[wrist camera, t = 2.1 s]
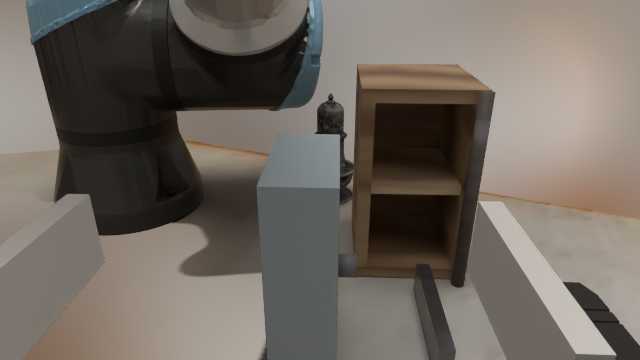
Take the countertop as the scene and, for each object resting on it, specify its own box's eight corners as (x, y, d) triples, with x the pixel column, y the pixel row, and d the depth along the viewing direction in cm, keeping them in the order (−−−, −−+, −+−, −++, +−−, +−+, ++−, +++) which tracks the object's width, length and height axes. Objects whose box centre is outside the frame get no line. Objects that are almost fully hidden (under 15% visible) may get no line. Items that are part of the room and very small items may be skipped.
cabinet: (465, 287, 36) (497, 93, 30) (354, 284, 37) (362, 92, 30) (438, 220, 47) (457, 64, 40) (351, 218, 47) (357, 63, 40)
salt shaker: (296, 190, 53) (293, 90, 48) (338, 180, 56) (340, 85, 51) (319, 211, 48) (319, 102, 44) (364, 199, 51) (369, 96, 46)
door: (351, 397, 27) (360, 188, 21) (269, 394, 27) (256, 186, 21) (349, 308, 34) (355, 134, 28) (284, 306, 34) (277, 133, 29)
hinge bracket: (556, 384, 28) (565, 354, 27) (434, 380, 28) (439, 350, 27) (507, 291, 36) (512, 266, 35) (413, 289, 36) (416, 263, 35)
